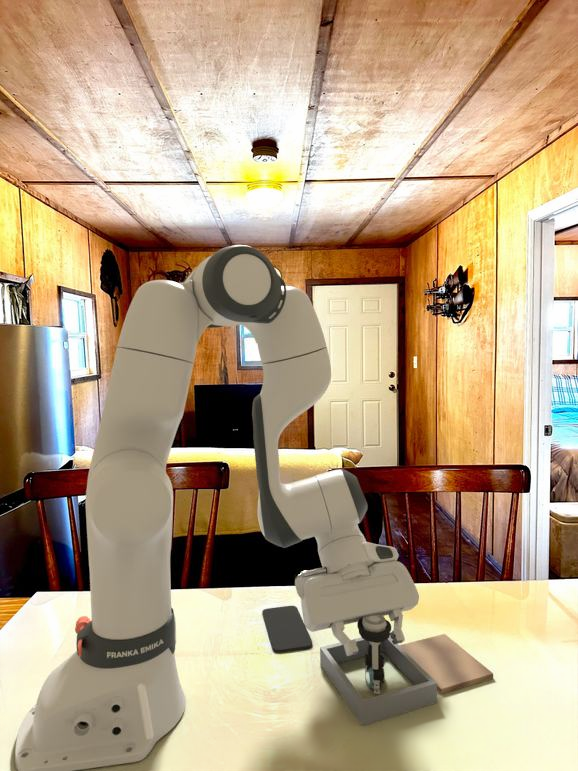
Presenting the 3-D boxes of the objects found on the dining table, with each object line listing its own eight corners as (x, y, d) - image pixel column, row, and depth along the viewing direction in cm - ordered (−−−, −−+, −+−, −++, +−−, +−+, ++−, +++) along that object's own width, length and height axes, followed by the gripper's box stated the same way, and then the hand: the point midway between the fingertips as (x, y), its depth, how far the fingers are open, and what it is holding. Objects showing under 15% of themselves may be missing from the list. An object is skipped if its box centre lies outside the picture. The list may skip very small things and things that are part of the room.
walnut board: (441, 694, 72) (441, 689, 72) (397, 650, 84) (397, 645, 84) (493, 678, 76) (493, 673, 76) (444, 638, 87) (444, 633, 87)
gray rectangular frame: (362, 725, 66) (361, 705, 66) (320, 664, 80) (320, 647, 80) (437, 702, 71) (437, 683, 70) (385, 648, 84) (385, 631, 84)
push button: (394, 698, 72) (393, 633, 71) (358, 696, 72) (358, 632, 72) (390, 670, 78) (389, 610, 78) (357, 668, 79) (356, 609, 79)
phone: (296, 604, 100) (314, 645, 85) (296, 608, 100) (314, 649, 85) (261, 609, 98) (273, 650, 83) (261, 613, 98) (273, 655, 83)
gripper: (296, 565, 78) (321, 657, 69) (403, 546, 84) (439, 628, 76) (287, 580, 82) (310, 669, 73) (390, 561, 89) (422, 640, 80)
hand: (376, 648), depth 74 cm, fingers open, 7 cm apart
